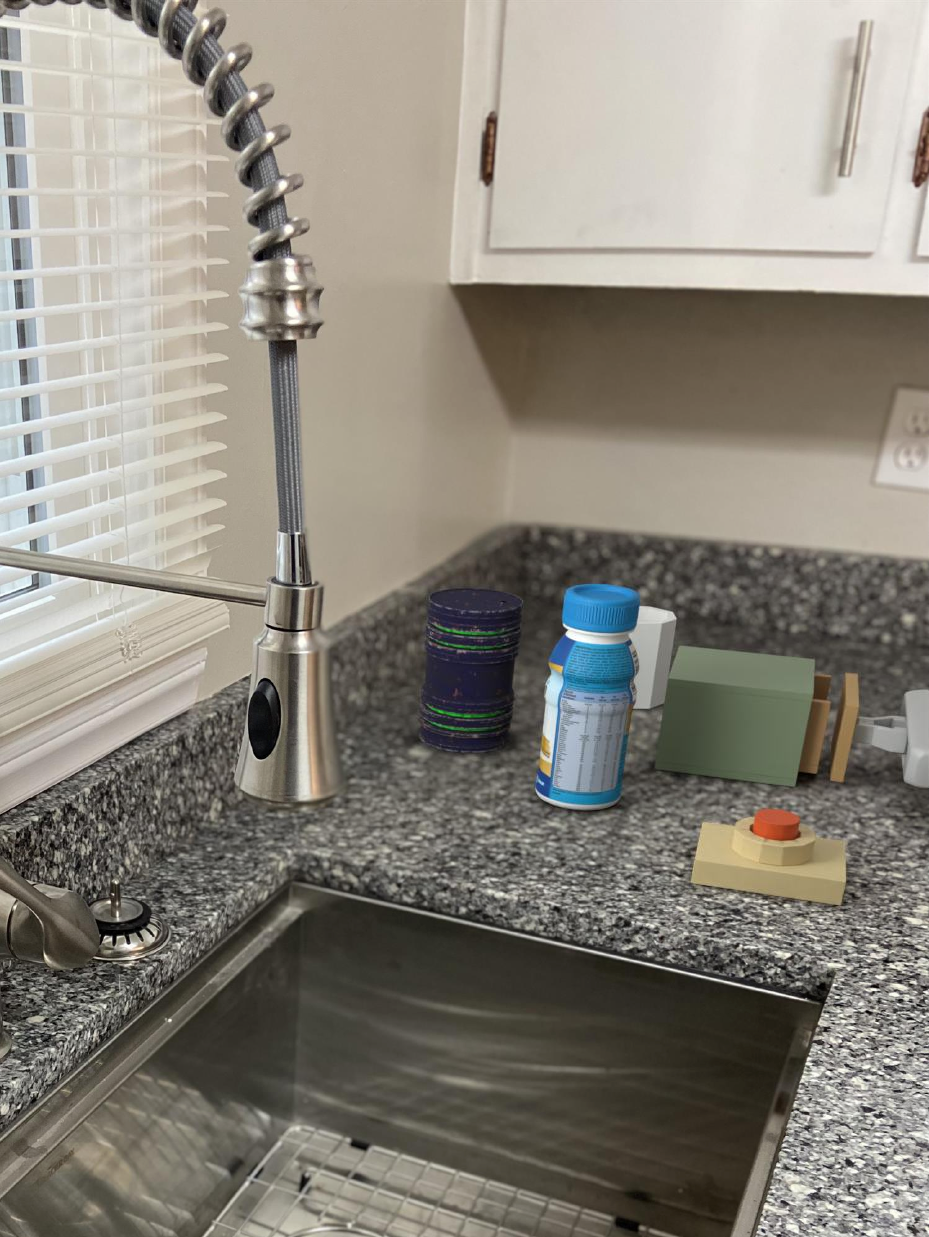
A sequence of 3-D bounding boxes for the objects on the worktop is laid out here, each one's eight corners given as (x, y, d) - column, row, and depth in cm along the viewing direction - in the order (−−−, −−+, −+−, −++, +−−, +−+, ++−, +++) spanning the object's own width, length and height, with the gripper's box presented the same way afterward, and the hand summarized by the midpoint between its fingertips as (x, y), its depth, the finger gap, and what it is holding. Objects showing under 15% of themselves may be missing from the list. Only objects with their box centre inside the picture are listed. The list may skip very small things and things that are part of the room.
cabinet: (797, 747, 154) (815, 659, 150) (795, 787, 144) (813, 693, 139) (666, 731, 158) (679, 645, 154) (654, 769, 148) (667, 678, 143)
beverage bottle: (577, 819, 136) (604, 607, 126) (514, 791, 142) (536, 587, 133) (640, 802, 140) (670, 595, 131) (576, 775, 146) (601, 576, 137)
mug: (671, 693, 171) (684, 610, 166) (655, 713, 164) (668, 628, 159) (571, 679, 175) (580, 598, 171) (551, 698, 168) (561, 614, 164)
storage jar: (409, 747, 153) (419, 606, 146) (426, 718, 161) (436, 584, 155) (504, 757, 150) (518, 615, 144) (516, 728, 159) (530, 592, 152)
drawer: (854, 747, 152) (870, 675, 148) (856, 784, 142) (872, 707, 138) (718, 731, 156) (730, 660, 152) (710, 766, 146) (723, 691, 143)
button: (796, 831, 124) (800, 812, 124) (795, 846, 121) (799, 827, 121) (753, 824, 126) (756, 806, 125) (751, 840, 123) (754, 821, 122)
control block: (840, 864, 127) (849, 822, 125) (841, 905, 120) (850, 861, 118) (699, 843, 131) (705, 802, 129) (690, 883, 123) (697, 840, 121)
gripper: (1009, 816, 131) (846, 795, 136) (990, 745, 148) (846, 728, 153) (1027, 750, 128) (859, 730, 133) (1006, 685, 145) (858, 670, 150)
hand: (852, 728), depth 143 cm, fingers closed
